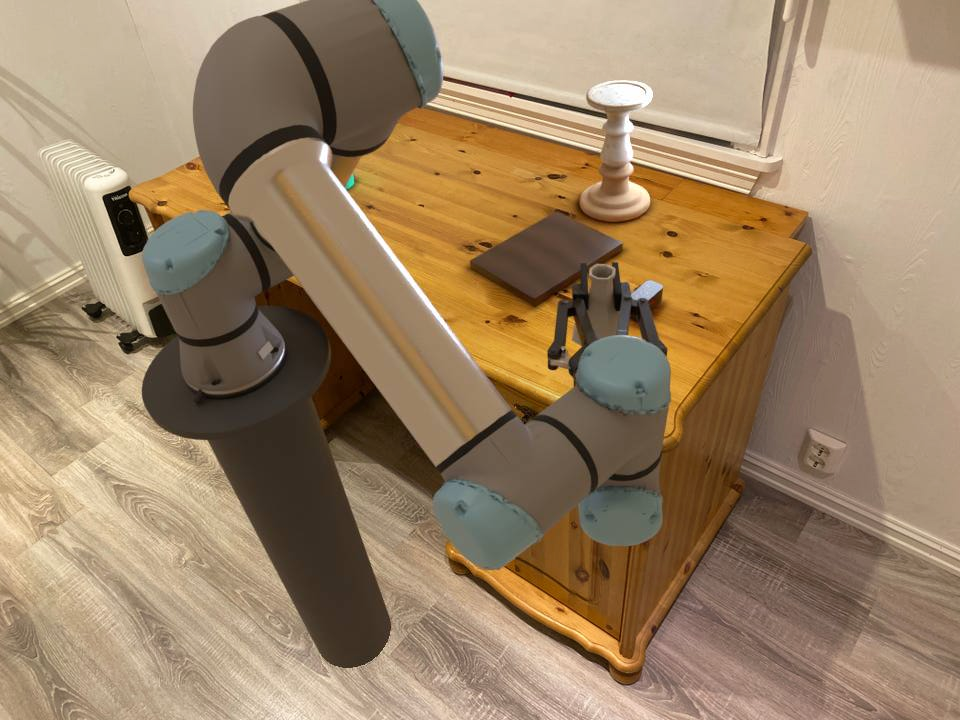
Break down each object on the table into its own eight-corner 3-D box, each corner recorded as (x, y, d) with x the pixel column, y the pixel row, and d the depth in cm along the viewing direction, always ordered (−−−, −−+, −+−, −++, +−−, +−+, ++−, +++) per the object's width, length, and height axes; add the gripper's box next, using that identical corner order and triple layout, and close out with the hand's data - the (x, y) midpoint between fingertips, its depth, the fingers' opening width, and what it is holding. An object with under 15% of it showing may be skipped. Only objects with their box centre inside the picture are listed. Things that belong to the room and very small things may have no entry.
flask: (616, 360, 88) (620, 295, 81) (562, 344, 91) (561, 281, 84) (636, 325, 92) (642, 261, 85) (584, 311, 95) (585, 248, 88)
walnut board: (534, 306, 108) (534, 298, 107) (470, 267, 116) (469, 260, 115) (622, 250, 116) (623, 242, 115) (556, 218, 125) (556, 210, 124)
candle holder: (626, 230, 120) (632, 115, 107) (565, 210, 127) (564, 99, 113) (662, 198, 127) (673, 85, 113) (604, 180, 133) (607, 72, 120)
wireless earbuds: (666, 301, 106) (668, 283, 104) (638, 325, 102) (639, 307, 100) (639, 289, 108) (641, 272, 106) (611, 313, 105) (612, 295, 103)
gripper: (533, 428, 78) (536, 296, 95) (686, 427, 76) (661, 292, 93) (530, 379, 73) (534, 248, 90) (695, 377, 71) (666, 244, 88)
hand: (598, 271), depth 91 cm, fingers closed on flask, 3 cm apart
